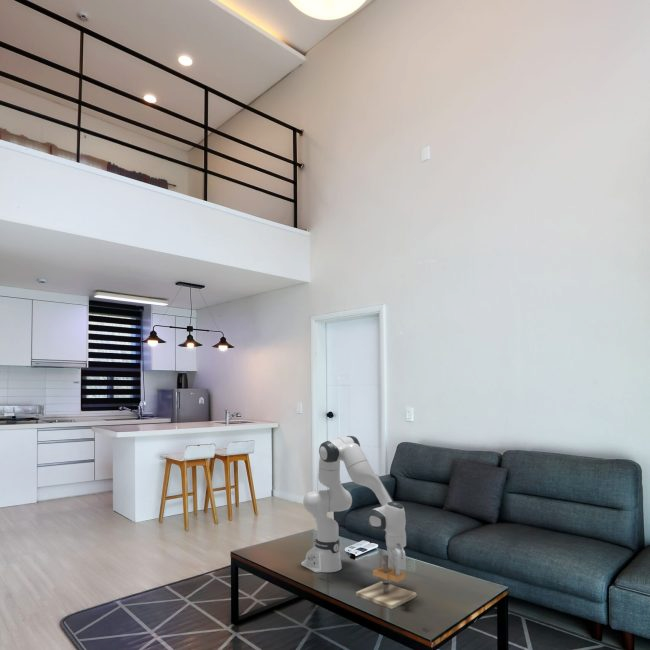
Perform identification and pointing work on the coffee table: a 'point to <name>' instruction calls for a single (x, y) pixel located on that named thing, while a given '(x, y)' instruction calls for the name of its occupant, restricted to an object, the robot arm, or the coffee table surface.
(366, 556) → the coffee table surface
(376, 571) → the collar
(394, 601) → the pipe stand
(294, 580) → the coffee table surface
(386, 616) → the coffee table surface
